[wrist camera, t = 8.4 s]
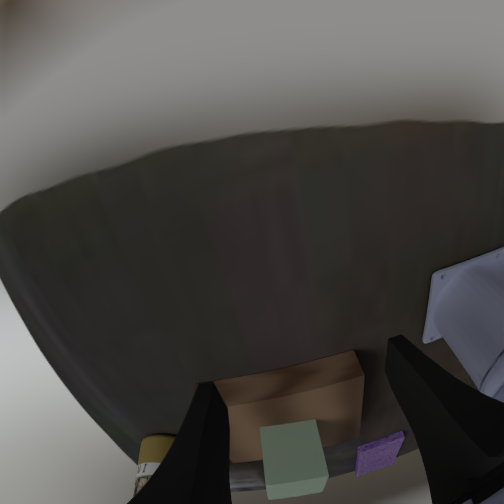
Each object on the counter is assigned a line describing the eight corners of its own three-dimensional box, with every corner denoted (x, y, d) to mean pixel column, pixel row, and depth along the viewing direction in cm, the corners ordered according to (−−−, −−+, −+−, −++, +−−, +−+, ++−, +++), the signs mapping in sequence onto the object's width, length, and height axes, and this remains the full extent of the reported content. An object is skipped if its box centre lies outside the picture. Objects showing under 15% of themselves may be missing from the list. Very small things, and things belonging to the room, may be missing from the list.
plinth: (353, 349, 24) (364, 375, 21) (352, 416, 29) (358, 437, 27) (195, 383, 25) (193, 410, 22) (232, 441, 30) (233, 463, 27)
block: (315, 419, 24) (328, 475, 18) (311, 442, 26) (322, 491, 21) (259, 427, 24) (265, 485, 18) (263, 449, 26) (268, 499, 20)
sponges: (401, 427, 34) (405, 437, 32) (391, 456, 40) (394, 464, 38) (356, 443, 34) (359, 453, 33) (353, 469, 40) (356, 477, 38)
